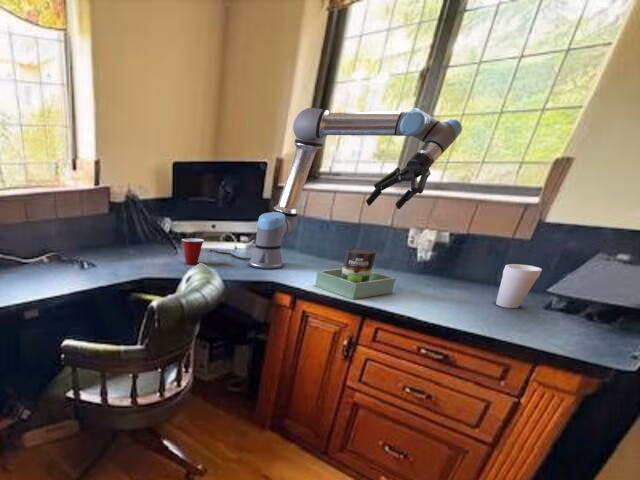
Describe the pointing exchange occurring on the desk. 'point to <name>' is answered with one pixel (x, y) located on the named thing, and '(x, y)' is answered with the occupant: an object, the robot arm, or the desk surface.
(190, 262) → the plastic cup
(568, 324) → the desk surface
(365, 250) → the coffee can
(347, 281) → the tray
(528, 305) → the desk surface
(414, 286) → the desk surface
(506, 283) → the foam cup
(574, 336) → the desk surface
